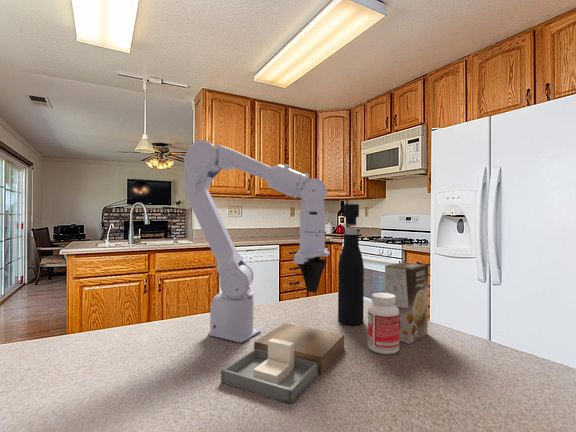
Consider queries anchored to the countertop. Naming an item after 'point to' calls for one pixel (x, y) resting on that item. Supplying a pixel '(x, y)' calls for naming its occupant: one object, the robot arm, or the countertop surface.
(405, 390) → the countertop surface
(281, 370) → the tile
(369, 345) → the pill bottle
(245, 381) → the tray
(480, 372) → the countertop surface
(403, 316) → the coffee box
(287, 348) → the tile
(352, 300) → the black water bottle
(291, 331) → the board
